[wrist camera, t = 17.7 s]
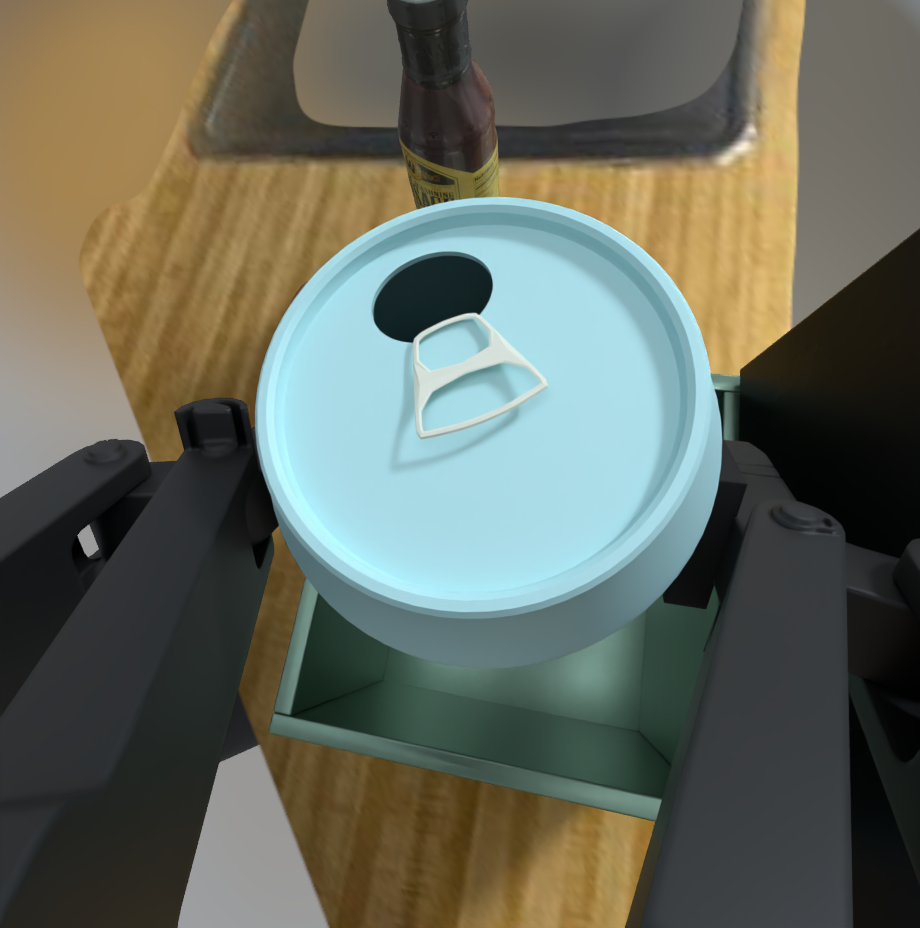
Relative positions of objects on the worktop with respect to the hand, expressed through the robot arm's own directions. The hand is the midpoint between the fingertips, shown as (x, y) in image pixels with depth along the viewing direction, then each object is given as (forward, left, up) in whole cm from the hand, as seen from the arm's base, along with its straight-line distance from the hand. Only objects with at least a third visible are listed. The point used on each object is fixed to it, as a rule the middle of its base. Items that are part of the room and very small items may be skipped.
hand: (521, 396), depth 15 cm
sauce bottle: (-8, +23, -22) cm, 33 cm away
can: (0, -3, -4) cm, 5 cm away
